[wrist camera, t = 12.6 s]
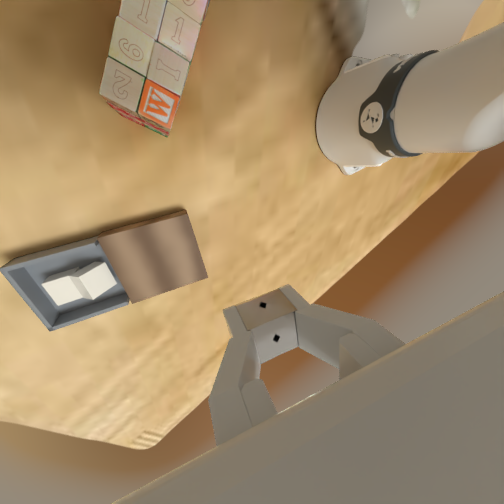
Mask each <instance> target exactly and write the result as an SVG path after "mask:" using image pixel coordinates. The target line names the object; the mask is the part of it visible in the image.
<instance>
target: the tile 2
mask: <svg viewBox="0 0 504 504" xmlns="http://www.w3.org/2000/svg"><path fill="white" fill-rule="evenodd" d="M69 277H70V279H71V280H72V282H73V283H74V285H75V286H76V288H77V289H78V291H79V292H80V294H81V295H82V297H83V298H86V299H92V300H94V299H95V298H97V297H98V296H100V295H101V294H102V293H104V292H105V291H107V290H108V289H110V288H111V287H113V286H114V285H116V284H117V283H116V281H115V279H114V277H113V275H112V274H111V272H110V270H109V268H108V267H107V265H106V263H105V262H96V261H95V262H93V263H91V264H89V265H88V266H86V267H84V268H82V269H80V270H78V271H77V272H75V273H73V274H71V275H69Z"/></svg>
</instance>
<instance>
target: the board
mask: <svg viewBox="0 0 504 504" xmlns="http://www.w3.org/2000/svg"><path fill="white" fill-rule="evenodd" d="M97 240H98V242H99V244H100V245H101V247H102V249H103V251H104V253H105V255H106V256H107V258H108V260H109V262H110V264H111V266H112V267H113V269H114V271H115V273H116V275H117V277H118V278H119V280H120V282H121V284H122V286H123V288H124V289H125V291H126V293H127V295H128V297H129V299H130V300H131V302H132V304H133V303H136V302H139V301H142V300H145V299H148V298H150V297H153V296H156V295H159V294H162V293H165V292H168V291H171V290H174V289H176V288H179V287H182V286H185V285H188V284H191V283H194V282H197V281H200V280H202V279H205V278H208V275H207V272H206V269H205V266H204V263H203V260H202V257H201V254H200V251H199V248H198V244H197V241H196V238H195V235H194V232H193V229H192V226H191V223H190V220H189V217H188V214H187V211H186V210H184V211H180V212H176V213H173V214H169V215H165V216H161V217H158V218H154V219H150V220H146V221H142V222H139V223H135V224H131V225H127V226H124V227H120V228H116V229H112V230H108V231H105V232H102V233H101V234H100V235H99V236H98V237H97Z"/></svg>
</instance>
